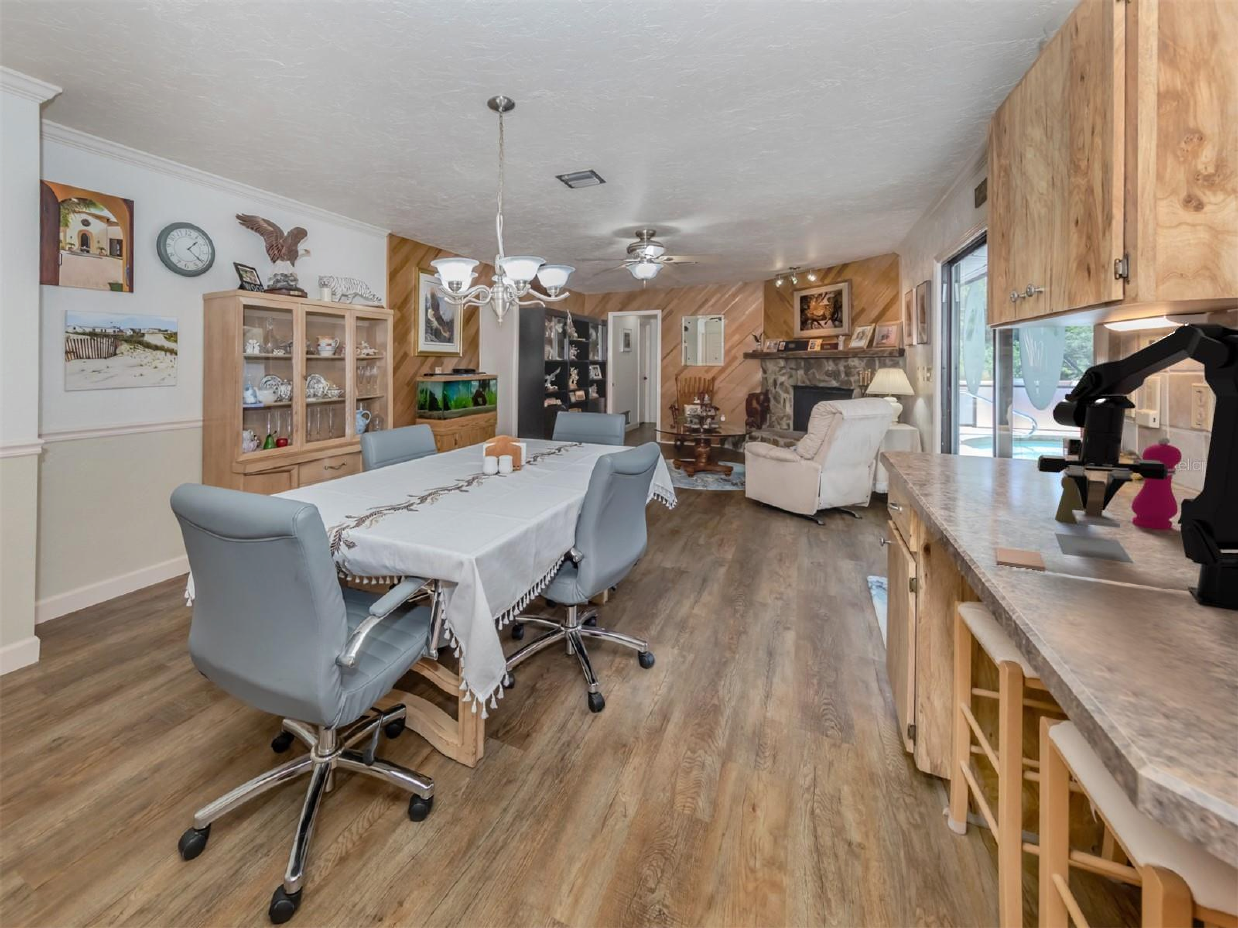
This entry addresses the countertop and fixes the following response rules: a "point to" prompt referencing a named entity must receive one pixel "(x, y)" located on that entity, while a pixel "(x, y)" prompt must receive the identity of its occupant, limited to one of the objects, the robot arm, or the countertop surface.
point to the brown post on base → (1095, 507)
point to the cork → (1068, 501)
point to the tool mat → (1092, 547)
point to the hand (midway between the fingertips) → (1093, 509)
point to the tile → (1019, 558)
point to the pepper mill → (1157, 490)
